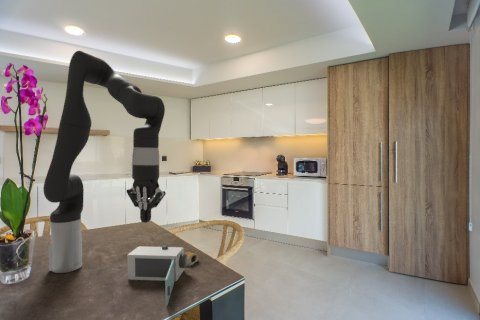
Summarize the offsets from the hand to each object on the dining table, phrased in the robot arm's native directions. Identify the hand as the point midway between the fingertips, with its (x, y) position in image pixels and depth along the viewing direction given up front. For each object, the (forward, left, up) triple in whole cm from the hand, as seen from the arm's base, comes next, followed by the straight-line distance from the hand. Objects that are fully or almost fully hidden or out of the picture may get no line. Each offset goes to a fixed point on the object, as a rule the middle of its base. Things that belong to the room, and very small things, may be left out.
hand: (145, 221), depth 84 cm
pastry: (+6, +21, -21) cm, 30 cm away
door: (+8, -2, -20) cm, 21 cm away
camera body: (-1, +10, -20) cm, 23 cm away
